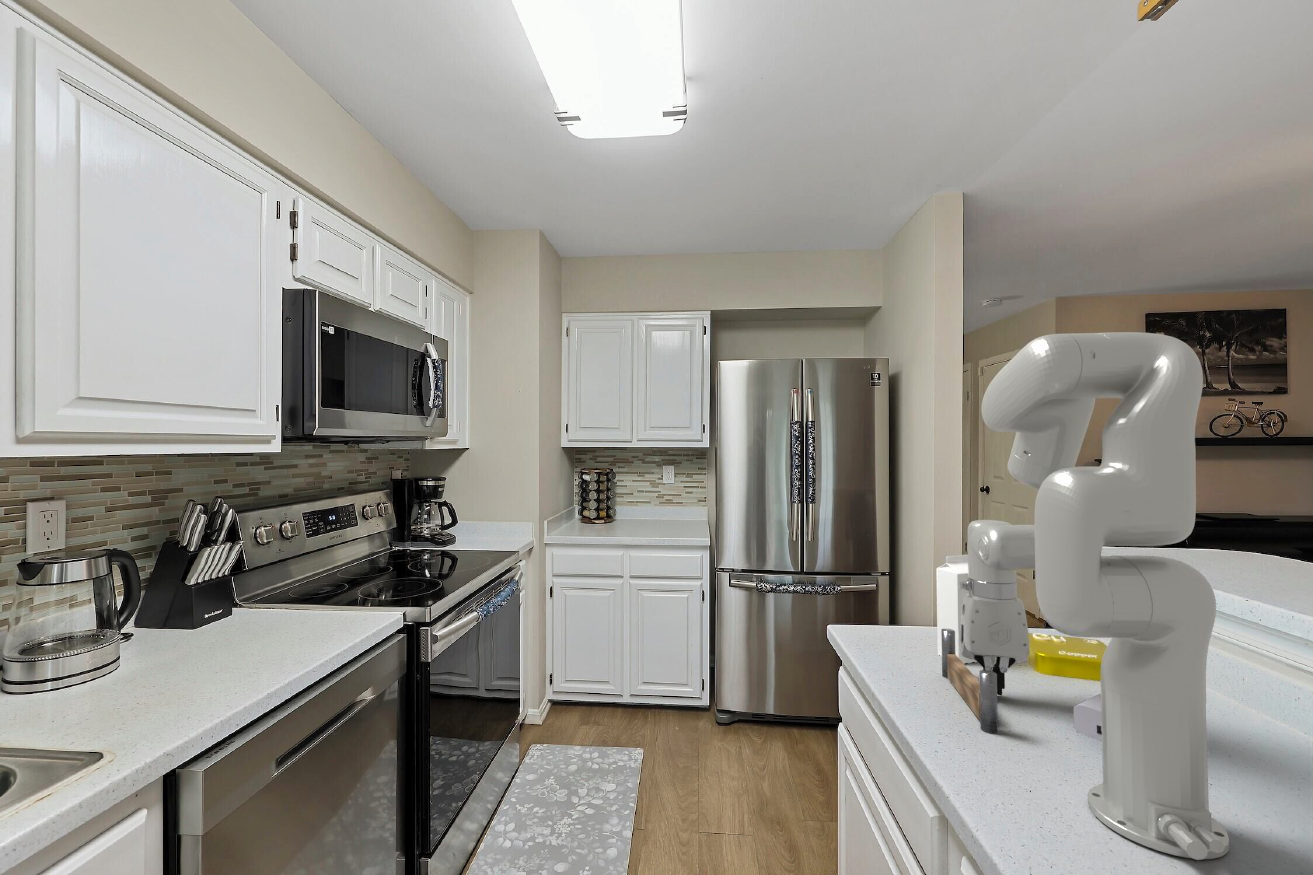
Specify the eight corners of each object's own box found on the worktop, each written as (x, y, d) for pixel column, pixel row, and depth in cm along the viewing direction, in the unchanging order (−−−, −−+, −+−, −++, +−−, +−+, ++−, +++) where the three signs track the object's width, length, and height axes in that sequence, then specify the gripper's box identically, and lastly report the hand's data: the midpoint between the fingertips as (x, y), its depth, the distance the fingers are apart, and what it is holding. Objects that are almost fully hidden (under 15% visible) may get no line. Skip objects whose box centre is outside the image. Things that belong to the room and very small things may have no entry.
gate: (990, 721, 92) (989, 693, 92) (979, 720, 93) (978, 692, 93) (956, 678, 110) (955, 654, 110) (947, 677, 110) (947, 653, 110)
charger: (1186, 733, 90) (1146, 759, 82) (1115, 710, 98) (1073, 732, 90) (1185, 702, 90) (1146, 726, 82) (1115, 682, 98) (1073, 702, 90)
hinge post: (1000, 734, 89) (999, 676, 89) (983, 732, 90) (982, 675, 90) (994, 726, 91) (993, 670, 92) (978, 725, 92) (977, 669, 92)
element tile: (1036, 675, 113) (1036, 651, 113) (1019, 650, 127) (1019, 629, 127) (1129, 686, 108) (1129, 661, 108) (1101, 659, 122) (1101, 637, 122)
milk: (981, 662, 120) (981, 557, 120) (958, 665, 118) (957, 558, 118) (959, 652, 125) (958, 552, 126) (936, 654, 124) (935, 553, 124)
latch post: (957, 679, 111) (956, 632, 111) (944, 678, 111) (943, 631, 111) (953, 674, 113) (952, 628, 113) (940, 673, 113) (939, 628, 114)
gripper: (953, 592, 101) (955, 697, 100) (1048, 596, 97) (1050, 704, 97) (941, 582, 108) (943, 680, 107) (1029, 586, 105) (1031, 687, 104)
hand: (994, 691), depth 102 cm, fingers closed
